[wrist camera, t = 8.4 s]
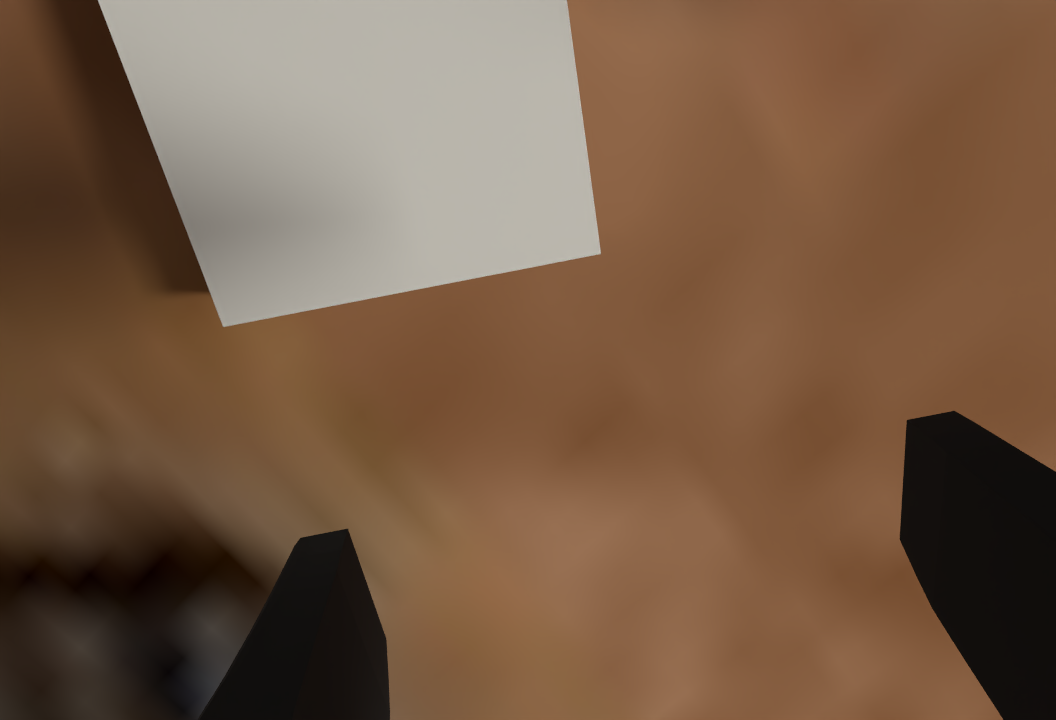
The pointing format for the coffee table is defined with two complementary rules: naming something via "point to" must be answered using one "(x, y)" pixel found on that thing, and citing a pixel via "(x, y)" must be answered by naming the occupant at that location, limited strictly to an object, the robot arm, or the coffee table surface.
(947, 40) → the coffee table surface
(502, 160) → the stand
